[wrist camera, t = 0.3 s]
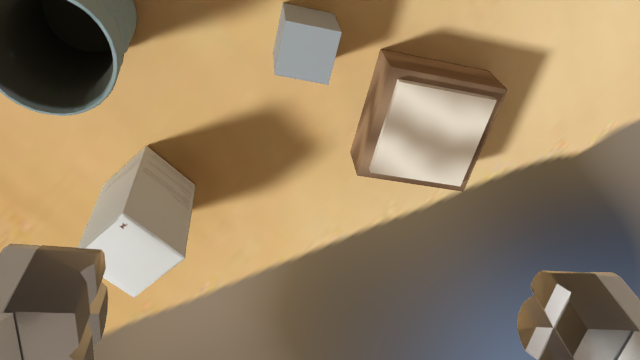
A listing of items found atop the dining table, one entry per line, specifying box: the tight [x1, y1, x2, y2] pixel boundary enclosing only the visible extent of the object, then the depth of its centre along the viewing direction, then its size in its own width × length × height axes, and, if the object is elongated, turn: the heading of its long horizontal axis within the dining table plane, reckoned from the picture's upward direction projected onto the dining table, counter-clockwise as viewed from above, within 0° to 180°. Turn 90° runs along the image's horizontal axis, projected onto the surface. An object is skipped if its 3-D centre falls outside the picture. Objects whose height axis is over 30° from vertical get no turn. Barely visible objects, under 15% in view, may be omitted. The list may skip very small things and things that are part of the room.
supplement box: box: [78, 146, 195, 297], centre depth 57 cm, size 7×7×13 cm
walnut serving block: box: [350, 49, 507, 191], centre depth 58 cm, size 12×12×6 cm
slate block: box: [273, 3, 342, 85], centre depth 52 cm, size 5×5×6 cm
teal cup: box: [0, 0, 137, 116], centre depth 46 cm, size 10×10×12 cm
